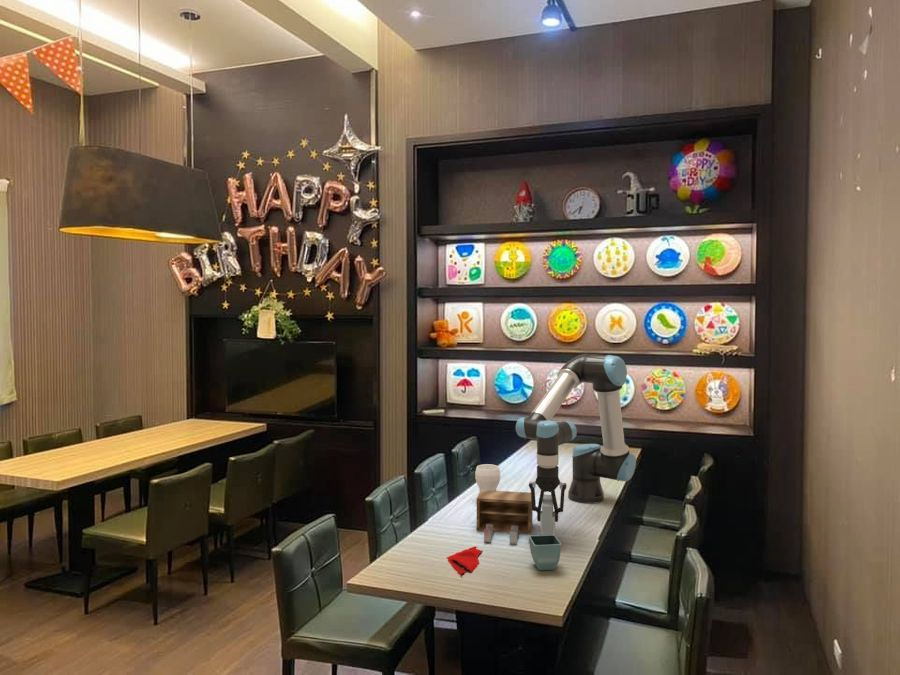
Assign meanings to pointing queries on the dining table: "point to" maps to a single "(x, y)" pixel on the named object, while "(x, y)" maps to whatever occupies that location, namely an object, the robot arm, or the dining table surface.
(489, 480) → the cup
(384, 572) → the dining table surface
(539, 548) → the flower pot
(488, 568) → the dining table surface
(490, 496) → the cabinet
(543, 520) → the door
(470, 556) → the cloth
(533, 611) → the dining table surface
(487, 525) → the hinge clips
